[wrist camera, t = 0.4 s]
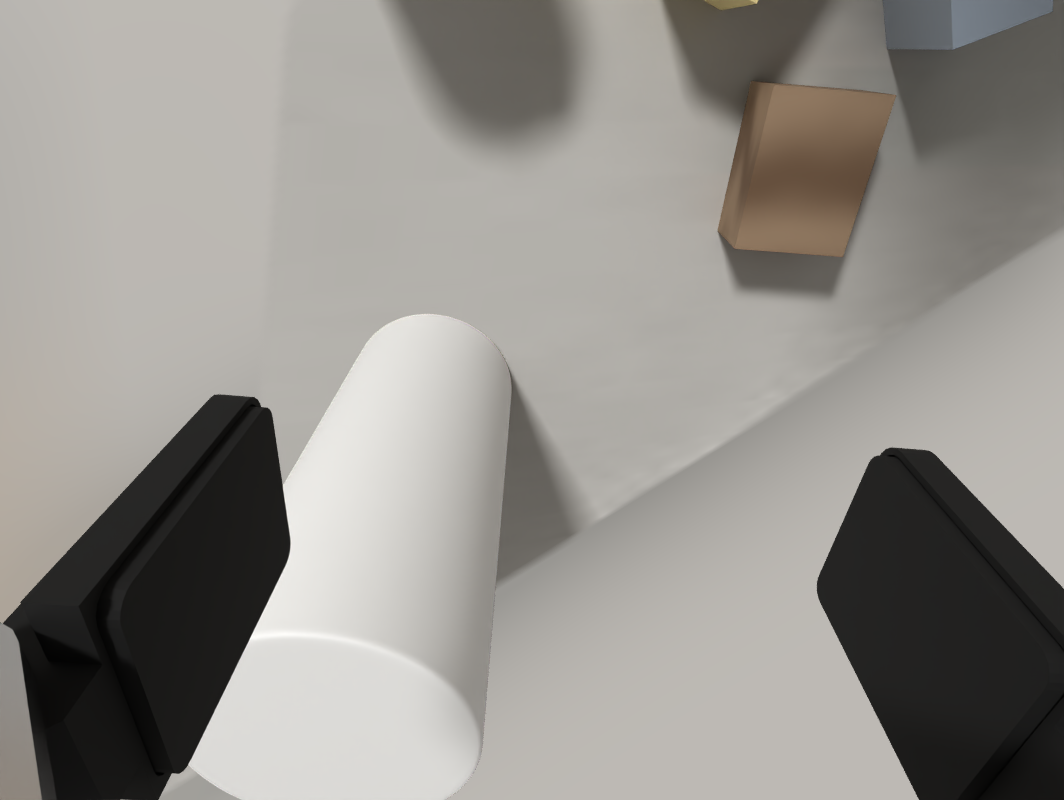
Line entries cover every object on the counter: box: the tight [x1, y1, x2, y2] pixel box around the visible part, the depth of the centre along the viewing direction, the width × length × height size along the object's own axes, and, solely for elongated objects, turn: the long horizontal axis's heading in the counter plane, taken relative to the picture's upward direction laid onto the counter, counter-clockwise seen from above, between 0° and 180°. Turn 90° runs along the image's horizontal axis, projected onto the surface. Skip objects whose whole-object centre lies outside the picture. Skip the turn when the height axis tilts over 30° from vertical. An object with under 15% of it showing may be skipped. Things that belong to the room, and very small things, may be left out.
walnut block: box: [718, 81, 896, 257], centre depth 33 cm, size 8×6×4 cm
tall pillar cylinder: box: [188, 314, 512, 800], centre depth 32 cm, size 11×11×25 cm
